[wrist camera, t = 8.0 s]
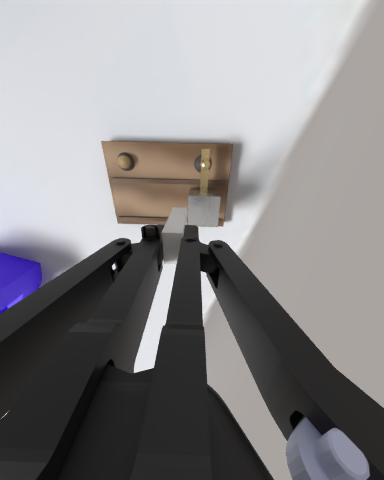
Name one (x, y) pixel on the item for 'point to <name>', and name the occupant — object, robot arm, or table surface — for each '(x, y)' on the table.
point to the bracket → (17, 279)
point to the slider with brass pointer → (203, 198)
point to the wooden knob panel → (162, 177)
